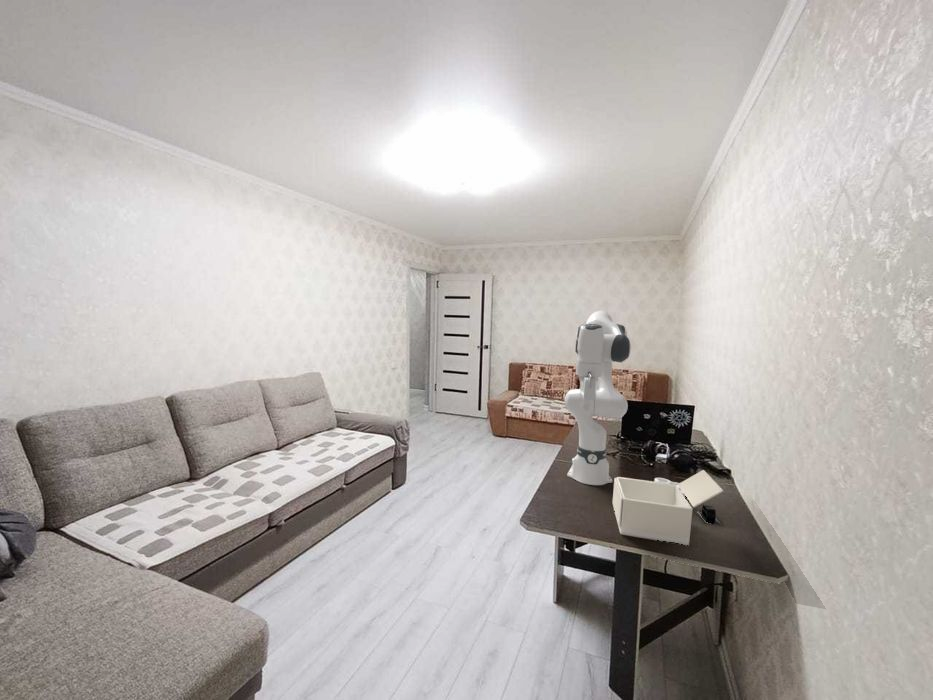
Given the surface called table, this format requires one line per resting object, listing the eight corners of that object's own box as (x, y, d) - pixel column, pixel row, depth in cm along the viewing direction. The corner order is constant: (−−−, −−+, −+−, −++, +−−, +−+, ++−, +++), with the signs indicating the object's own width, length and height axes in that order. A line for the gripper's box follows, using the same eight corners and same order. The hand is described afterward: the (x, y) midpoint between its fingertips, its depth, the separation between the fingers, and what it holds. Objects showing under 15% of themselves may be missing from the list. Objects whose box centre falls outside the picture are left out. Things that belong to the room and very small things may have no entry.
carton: (611, 507, 145) (614, 476, 144) (672, 517, 140) (675, 484, 139) (618, 535, 126) (621, 499, 125) (689, 546, 121) (693, 509, 120)
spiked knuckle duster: (698, 507, 150) (657, 502, 153) (682, 488, 167) (645, 483, 170) (699, 498, 149) (657, 493, 152) (683, 480, 167) (646, 476, 170)
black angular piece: (690, 509, 148) (691, 498, 147) (711, 512, 147) (713, 500, 146) (704, 526, 136) (705, 514, 135) (727, 529, 134) (729, 516, 134)
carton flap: (703, 469, 136) (704, 470, 136) (677, 484, 138) (678, 485, 138) (722, 490, 119) (723, 491, 119) (693, 506, 121) (693, 507, 121)
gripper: (601, 374, 126) (598, 417, 128) (595, 368, 146) (593, 404, 147) (581, 373, 128) (578, 415, 129) (578, 366, 148) (575, 403, 149)
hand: (586, 409), depth 138 cm, fingers closed
